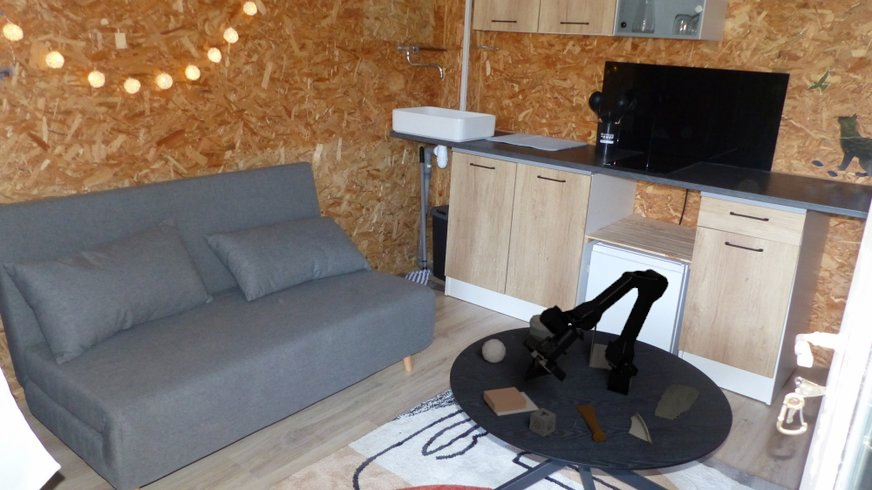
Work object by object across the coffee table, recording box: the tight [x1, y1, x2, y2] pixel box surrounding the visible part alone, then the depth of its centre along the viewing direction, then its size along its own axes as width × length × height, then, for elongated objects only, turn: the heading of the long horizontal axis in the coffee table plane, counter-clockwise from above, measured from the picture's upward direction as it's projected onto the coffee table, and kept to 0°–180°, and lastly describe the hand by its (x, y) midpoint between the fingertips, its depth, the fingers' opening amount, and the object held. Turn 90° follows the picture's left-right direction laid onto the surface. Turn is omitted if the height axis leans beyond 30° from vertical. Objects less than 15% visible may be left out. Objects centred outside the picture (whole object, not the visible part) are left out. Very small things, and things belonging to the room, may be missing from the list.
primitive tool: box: [575, 404, 607, 443], centre depth 199 cm, size 19×6×4 cm, turn 4°
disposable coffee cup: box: [528, 313, 554, 361], centre depth 234 cm, size 11×11×15 cm
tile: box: [483, 386, 527, 413], centre depth 206 cm, size 3×8×10 cm
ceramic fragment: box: [628, 412, 654, 446], centre depth 196 cm, size 14×5×4 cm, turn 2°
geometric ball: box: [481, 338, 506, 364], centre depth 232 cm, size 8×8×8 cm
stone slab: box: [654, 383, 700, 421], centre depth 212 cm, size 22×3×10 cm
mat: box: [494, 391, 539, 417], centre depth 207 cm, size 13×10×1 cm
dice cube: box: [528, 407, 557, 438], centre depth 194 cm, size 5×5×5 cm
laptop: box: [588, 324, 612, 371], centre depth 237 cm, size 18×12×13 cm
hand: (523, 380), depth 206 cm, fingers closed
